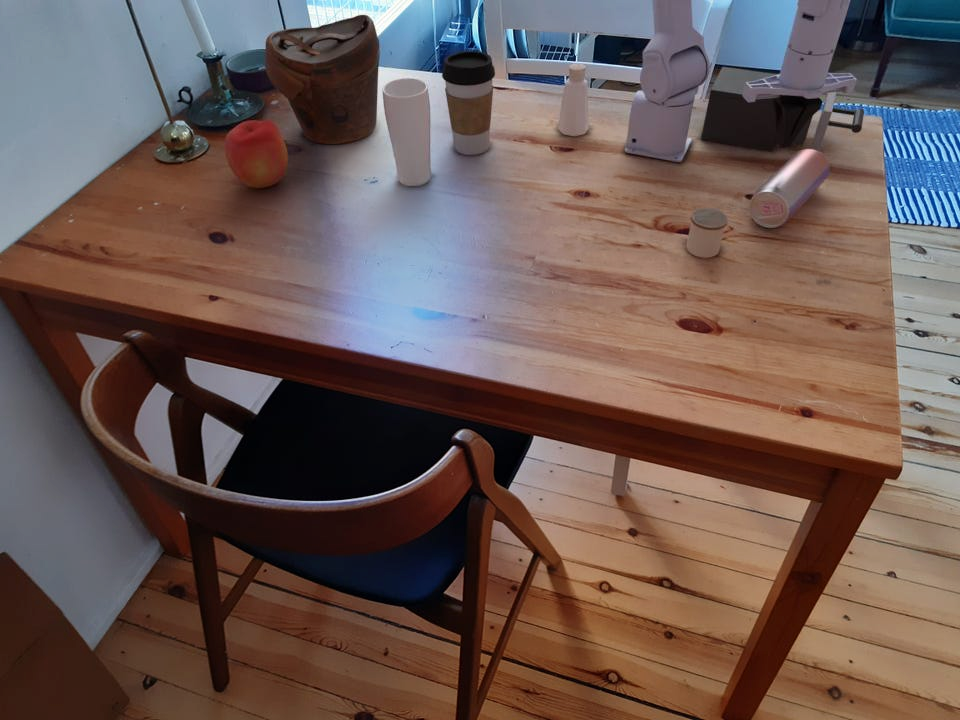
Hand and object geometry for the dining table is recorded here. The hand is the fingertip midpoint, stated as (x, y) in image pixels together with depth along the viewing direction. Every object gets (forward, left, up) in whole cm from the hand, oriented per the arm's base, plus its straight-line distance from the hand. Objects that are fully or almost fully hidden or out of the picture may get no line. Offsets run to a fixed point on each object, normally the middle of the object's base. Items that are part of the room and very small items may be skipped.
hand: (782, 144), depth 100 cm
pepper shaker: (-34, +11, -9) cm, 37 cm away
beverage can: (+5, +7, -6) cm, 10 cm away
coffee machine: (-7, +20, -9) cm, 23 cm away
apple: (-74, -24, -9) cm, 79 cm away
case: (-73, -4, -9) cm, 74 cm away
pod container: (-6, -16, -9) cm, 19 cm away
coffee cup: (-48, -1, -9) cm, 49 cm away
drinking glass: (-52, -14, -9) cm, 55 cm away
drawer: (+3, +20, -8) cm, 21 cm away
